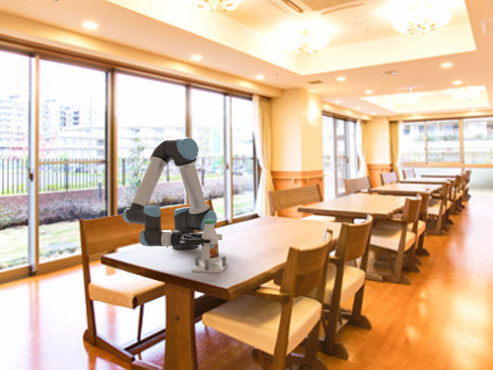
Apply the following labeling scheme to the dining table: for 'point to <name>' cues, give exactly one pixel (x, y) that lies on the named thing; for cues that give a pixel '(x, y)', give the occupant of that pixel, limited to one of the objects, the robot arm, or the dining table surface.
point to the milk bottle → (210, 250)
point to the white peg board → (209, 265)
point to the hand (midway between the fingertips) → (219, 238)
